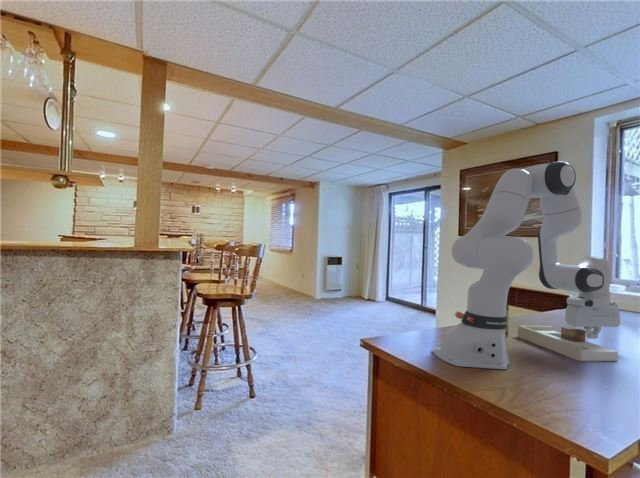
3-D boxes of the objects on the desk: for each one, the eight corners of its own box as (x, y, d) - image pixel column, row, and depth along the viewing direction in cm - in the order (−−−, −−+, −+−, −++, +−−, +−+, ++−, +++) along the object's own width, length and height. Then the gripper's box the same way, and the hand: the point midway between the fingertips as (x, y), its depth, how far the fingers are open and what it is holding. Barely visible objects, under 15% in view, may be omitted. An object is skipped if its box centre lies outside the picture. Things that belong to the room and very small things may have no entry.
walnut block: (573, 341, 117) (573, 330, 117) (560, 337, 122) (561, 327, 122) (585, 341, 117) (585, 330, 117) (572, 337, 122) (572, 327, 122)
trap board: (578, 360, 105) (579, 347, 105) (517, 336, 131) (518, 325, 131) (617, 360, 108) (617, 347, 108) (549, 336, 133) (550, 326, 133)
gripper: (608, 300, 124) (606, 336, 124) (562, 298, 121) (560, 335, 121) (626, 303, 118) (624, 341, 118) (578, 301, 115) (576, 340, 115)
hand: (591, 338), depth 119 cm, fingers closed
